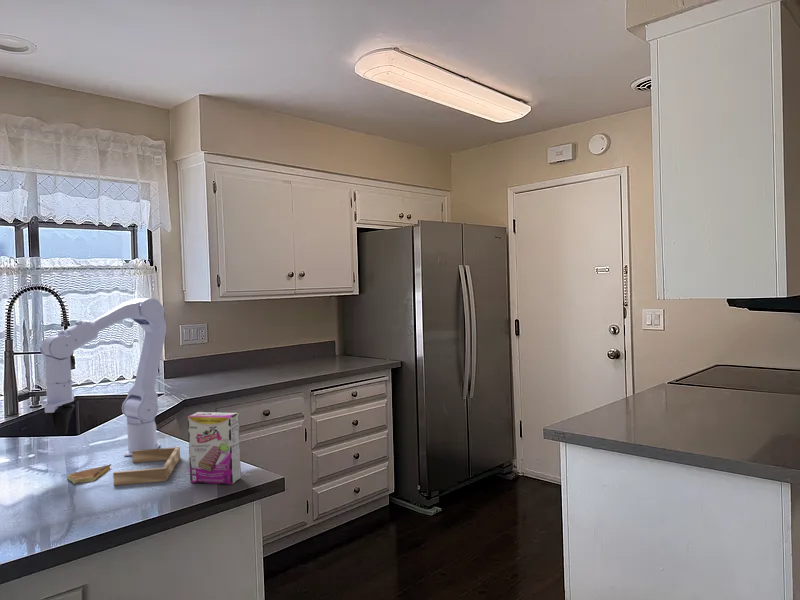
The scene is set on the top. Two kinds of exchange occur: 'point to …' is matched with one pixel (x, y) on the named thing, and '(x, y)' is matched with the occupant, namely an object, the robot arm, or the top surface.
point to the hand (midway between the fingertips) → (61, 434)
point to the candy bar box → (214, 447)
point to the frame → (149, 474)
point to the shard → (88, 474)
